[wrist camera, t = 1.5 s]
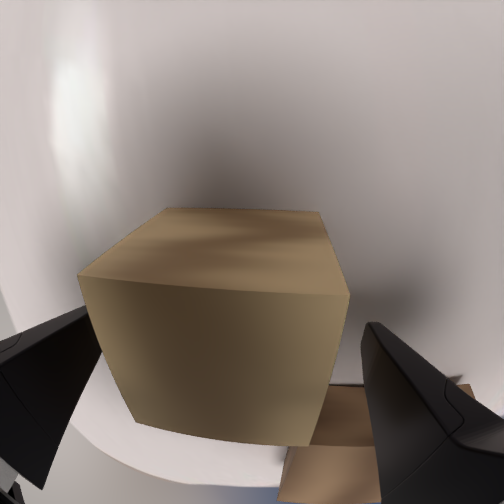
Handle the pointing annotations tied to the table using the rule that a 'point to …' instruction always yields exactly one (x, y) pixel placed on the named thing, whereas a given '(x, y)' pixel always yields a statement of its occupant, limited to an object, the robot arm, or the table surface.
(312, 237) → the oak cube
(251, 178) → the table surface
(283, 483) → the tan flat square block
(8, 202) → the table surface
